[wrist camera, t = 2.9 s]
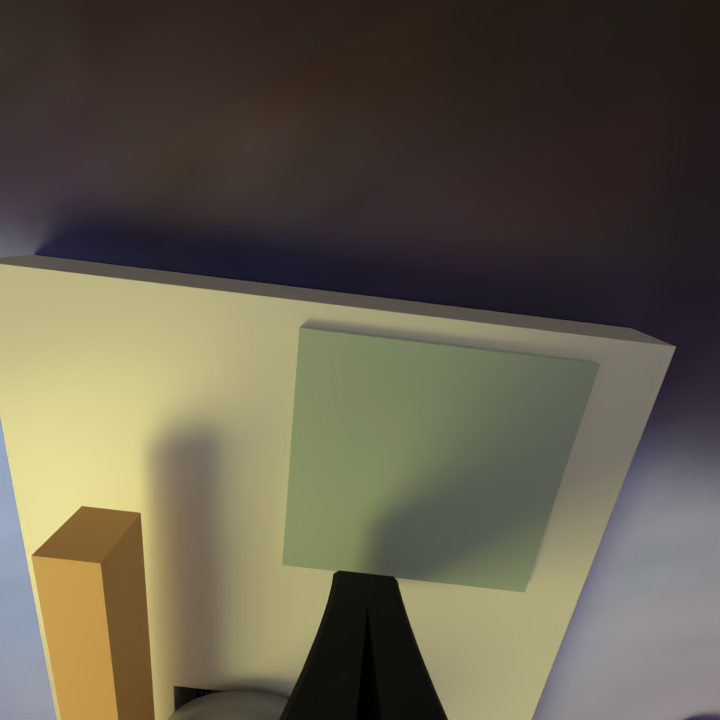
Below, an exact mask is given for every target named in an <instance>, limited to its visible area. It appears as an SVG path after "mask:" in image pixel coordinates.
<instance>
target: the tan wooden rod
mask: <svg viewBox="0 0 720 720" xmlns="http://www.w3.org/2000/svg"><path fill="white" fill-rule="evenodd" d="M31 558H32V563H33V569H34V574H35V580H36V585H37V591H38V596H39V602H40V607H41V613H42V618H43V623H44V629H45V634H46V640H47V645H48V651H49V656H50V662H51V667H52V673H53V678H54V684H55V689H56V695H57V700H58V706H59V711H60V717H61V720H155V713H154V698H153V683H152V669H151V654H150V640H149V625H148V610H147V596H146V581H145V567H144V552H143V537H142V523H141V513H139V512H130V511H122V510H113V509H104V508H95V507H87V506H81V507H80V508H79V509H78V510H77V511H76V512H75V513H74V514H73V515H72V516H71V517H70V518H69V519H68V520H67V521H66V522H65V523H64V524H63V525H62V526H61V527H60V528H59V529H58V530H57V531H56V532H55V533H54V534H53V535H52V536H51V537H50V538H49V539H48V540H47V541H46V542H45V543H44V544H43V545H41V546H40V547H39V548H38V549H37V550H36V551H35V552H34V553H33V554H32V555H31Z"/></svg>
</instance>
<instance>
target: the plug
mask: <svg viewBox="0 0 720 720" xmlns="http://www.w3.org/2000/svg"><path fill="white" fill-rule="evenodd" d="M288 699H289V698H284V697H281V696H277V695H273V694H269V693H262V692H256V691H218V690H211V692H210V694H209V695H205V696H202V697H199V698H196V699H194V700H192V701H190V702H188V703H186V704H184V705H183V706H181V707H180V708H178V709H177V710H176V711H175V712H174V713H173V714H172V715H171V716H170V717H169V718H168V720H279V719H280V716H281V714H282V712H283V710H284V708H285V706H286V704H287V701H288Z"/></svg>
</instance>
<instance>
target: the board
mask: <svg viewBox="0 0 720 720" xmlns="http://www.w3.org/2000/svg"><path fill="white" fill-rule="evenodd" d="M675 348H676V346H673V345H671V344H669V343H666V342H664V341H661V340H659V339H656V338H654V337H651V336H649V335H646V334H644V333H641V332H639V331H637V330H634V329H632V328H626V327H618V326H609V325H601V324H593V323H585V322H577V321H569V320H561V319H552V318H544V317H536V316H528V315H520V314H512V313H504V312H495V311H487V310H479V309H471V308H463V307H455V306H447V305H438V304H430V303H422V302H414V301H406V300H398V299H390V298H381V297H373V296H365V295H357V294H349V293H341V292H333V291H324V290H316V289H308V288H300V287H292V286H284V285H276V284H267V283H259V282H251V281H243V280H235V279H227V278H219V277H210V276H202V275H194V274H186V273H178V272H170V271H162V270H153V269H145V268H137V267H129V266H121V265H113V264H105V263H97V262H88V261H80V260H72V259H64V258H56V257H48V256H40V255H22V256H11V257H1V258H0V418H1V423H2V429H3V434H4V439H5V445H6V450H7V455H8V461H9V466H10V471H11V477H12V482H13V487H14V493H15V498H16V503H17V509H18V514H19V519H20V525H21V530H22V535H23V541H24V546H25V551H26V557H27V562H28V567H29V573H30V578H31V583H32V589H33V594H34V599H35V605H36V610H37V615H38V621H39V626H40V631H41V637H42V642H43V647H44V653H45V658H46V663H47V669H48V674H49V680H50V685H51V690H52V696H53V701H54V706H55V712H56V717H57V720H61V717H60V711H59V706H58V700H57V695H56V689H55V684H54V678H53V673H52V667H51V662H50V656H49V651H48V645H47V640H46V634H45V629H44V623H43V618H42V613H41V607H40V602H39V596H38V591H37V585H36V580H35V574H34V569H33V563H32V558H31V555H32V554H33V553H34V552H35V551H36V550H37V549H38V548H39V547H40V546H41V545H43V544H44V543H45V542H46V541H47V540H48V539H49V538H50V537H51V536H52V535H53V534H54V533H55V532H56V531H57V530H58V529H59V528H60V527H61V526H62V525H63V524H64V523H65V522H66V521H67V520H68V519H69V518H70V517H71V516H72V515H73V514H74V513H75V512H76V511H77V510H78V509H79V508H80V507H81V506H87V507H95V508H104V509H113V510H122V511H130V512H139V513H141V523H142V537H143V552H144V567H145V581H146V596H147V610H148V625H149V640H150V654H151V669H152V683H153V698H154V713H155V720H168V718H169V717H170V716H171V715H172V714H173V713H174V712H175V711H176V710H177V709H178V708H180V707H181V706H183V705H184V704H186V703H188V702H190V701H192V700H194V699H196V688H199V689H208V690H218V691H256V692H262V693H269V694H273V695H277V696H281V697H284V698H289V697H290V695H291V693H292V691H293V689H294V686H295V684H296V682H297V680H298V678H299V676H300V673H301V671H302V669H303V666H304V664H305V661H306V659H307V656H308V654H309V651H310V649H311V646H312V644H313V641H314V639H315V636H316V634H317V631H318V628H319V626H320V623H321V620H322V617H323V614H324V611H325V608H326V605H327V601H328V598H329V594H330V590H331V585H332V579H333V574H334V573H335V572H337V571H339V570H341V571H350V572H359V573H368V574H376V575H385V576H394V577H395V579H396V580H397V581H398V585H399V589H400V592H401V596H402V600H403V603H404V606H405V610H406V613H407V616H408V619H409V622H410V625H411V628H412V630H413V633H414V636H415V639H416V642H417V645H418V647H419V650H420V653H421V655H422V658H423V660H424V663H425V665H426V668H427V670H428V673H429V675H430V678H431V680H432V683H433V685H434V687H435V690H436V692H437V695H438V697H439V699H440V702H441V704H442V706H443V709H444V711H445V713H446V716H447V718H448V720H531V719H532V717H533V714H534V712H535V709H536V707H537V704H538V701H539V699H540V696H541V694H542V691H543V689H544V686H545V683H546V681H547V678H548V676H549V673H550V670H551V668H552V665H553V663H554V660H555V658H556V655H557V652H558V650H559V647H560V645H561V642H562V640H563V637H564V634H565V632H566V629H567V627H568V624H569V621H570V619H571V616H572V614H573V611H574V609H575V606H576V603H577V601H578V598H579V596H580V593H581V591H582V588H583V585H584V583H585V580H586V578H587V575H588V573H589V570H590V567H591V565H592V562H593V560H594V557H595V554H596V552H597V549H598V547H599V544H600V542H601V539H602V536H603V534H604V531H605V529H606V526H607V524H608V521H609V518H610V516H611V513H612V511H613V508H614V506H615V503H616V500H617V498H618V495H619V493H620V490H621V487H622V485H623V482H624V480H625V477H626V475H627V472H628V469H629V467H630V464H631V462H632V459H633V457H634V454H635V451H636V449H637V446H638V444H639V441H640V439H641V436H642V433H643V431H644V428H645V426H646V423H647V420H648V418H649V415H650V413H651V410H652V408H653V405H654V402H655V400H656V397H657V395H658V392H659V390H660V387H661V384H662V382H663V379H664V377H665V374H666V371H667V369H668V366H669V364H670V361H671V359H672V356H673V353H674V351H675Z"/></svg>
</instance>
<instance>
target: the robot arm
mask: <svg viewBox="0 0 720 720" xmlns="http://www.w3.org/2000/svg"><path fill="white" fill-rule="evenodd" d="M279 720H448V718H447V716H446V713H445V711H444V709H443V706H442V704H441V702H440V699H439V697H438V695H437V692H436V690H435V687H434V685H433V683H432V680H431V678H430V675H429V673H428V670H427V668H426V665H425V663H424V660H423V658H422V655H421V653H420V650H419V647H418V645H417V642H416V639H415V636H414V633H413V630H412V628H411V625H410V622H409V619H408V616H407V613H406V610H405V606H404V603H403V600H402V596H401V592H400V589H399V585H398V581H397V580H396V579H395V577H394V576H385V575H376V574H368V573H359V572H350V571H341V570H339V571H337V572H335V573H334V574H333V579H332V585H331V590H330V594H329V598H328V601H327V605H326V608H325V611H324V614H323V617H322V620H321V623H320V626H319V628H318V631H317V634H316V636H315V639H314V641H313V644H312V646H311V649H310V651H309V654H308V656H307V659H306V661H305V664H304V666H303V669H302V671H301V673H300V676H299V678H298V680H297V682H296V684H295V686H294V689H293V691H292V693H291V695H290V697H289V699H288V701H287V704H286V706H285V708H284V710H283V712H282V714H281V716H280V719H279Z"/></svg>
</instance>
